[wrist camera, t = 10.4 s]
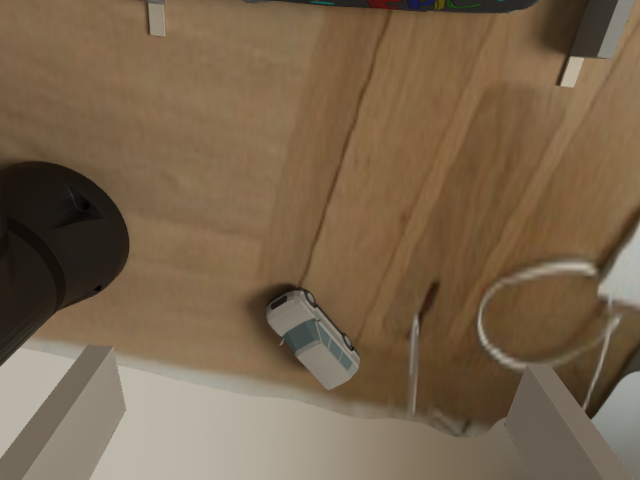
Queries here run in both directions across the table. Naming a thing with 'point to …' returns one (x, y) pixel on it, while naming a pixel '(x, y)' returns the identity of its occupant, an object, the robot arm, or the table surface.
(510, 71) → the table surface
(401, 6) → the toy van
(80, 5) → the table surface
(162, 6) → the bay
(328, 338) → the toy car
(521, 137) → the table surface
